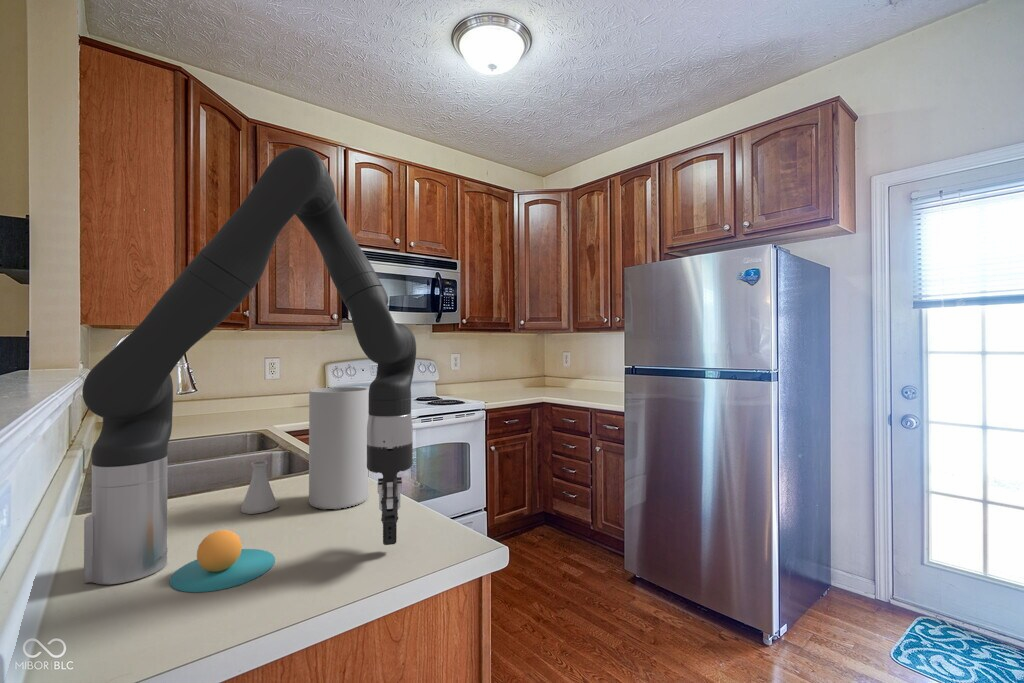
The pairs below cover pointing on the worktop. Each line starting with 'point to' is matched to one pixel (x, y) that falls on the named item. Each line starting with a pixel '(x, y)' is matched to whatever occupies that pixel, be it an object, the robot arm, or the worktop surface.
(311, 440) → the cylinder vase
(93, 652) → the worktop surface
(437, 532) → the worktop surface
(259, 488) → the flask
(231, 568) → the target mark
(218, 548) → the ball
